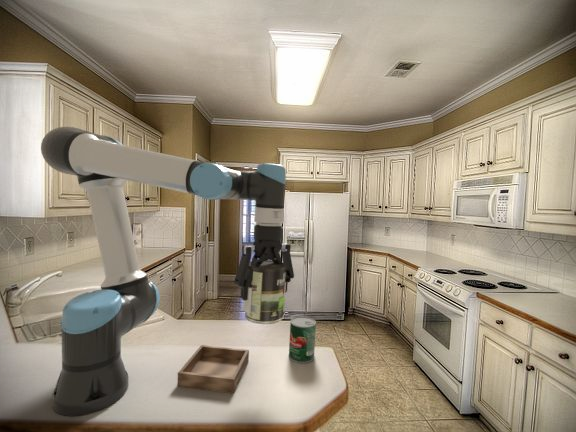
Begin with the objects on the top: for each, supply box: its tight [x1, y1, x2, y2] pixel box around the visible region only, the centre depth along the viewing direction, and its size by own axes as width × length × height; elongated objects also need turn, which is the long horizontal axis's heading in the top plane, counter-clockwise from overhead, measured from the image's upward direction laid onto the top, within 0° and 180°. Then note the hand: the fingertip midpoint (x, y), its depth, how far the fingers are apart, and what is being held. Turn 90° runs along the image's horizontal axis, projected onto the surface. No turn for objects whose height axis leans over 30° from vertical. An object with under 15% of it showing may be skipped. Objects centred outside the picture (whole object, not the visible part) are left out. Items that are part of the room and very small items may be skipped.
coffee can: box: [244, 260, 286, 325], centre depth 79 cm, size 10×10×14 cm
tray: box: [177, 344, 250, 394], centre depth 82 cm, size 15×15×4 cm
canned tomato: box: [288, 316, 317, 364], centre depth 92 cm, size 8×8×11 cm
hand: (264, 308), depth 79 cm, fingers closed on coffee can, 10 cm apart
